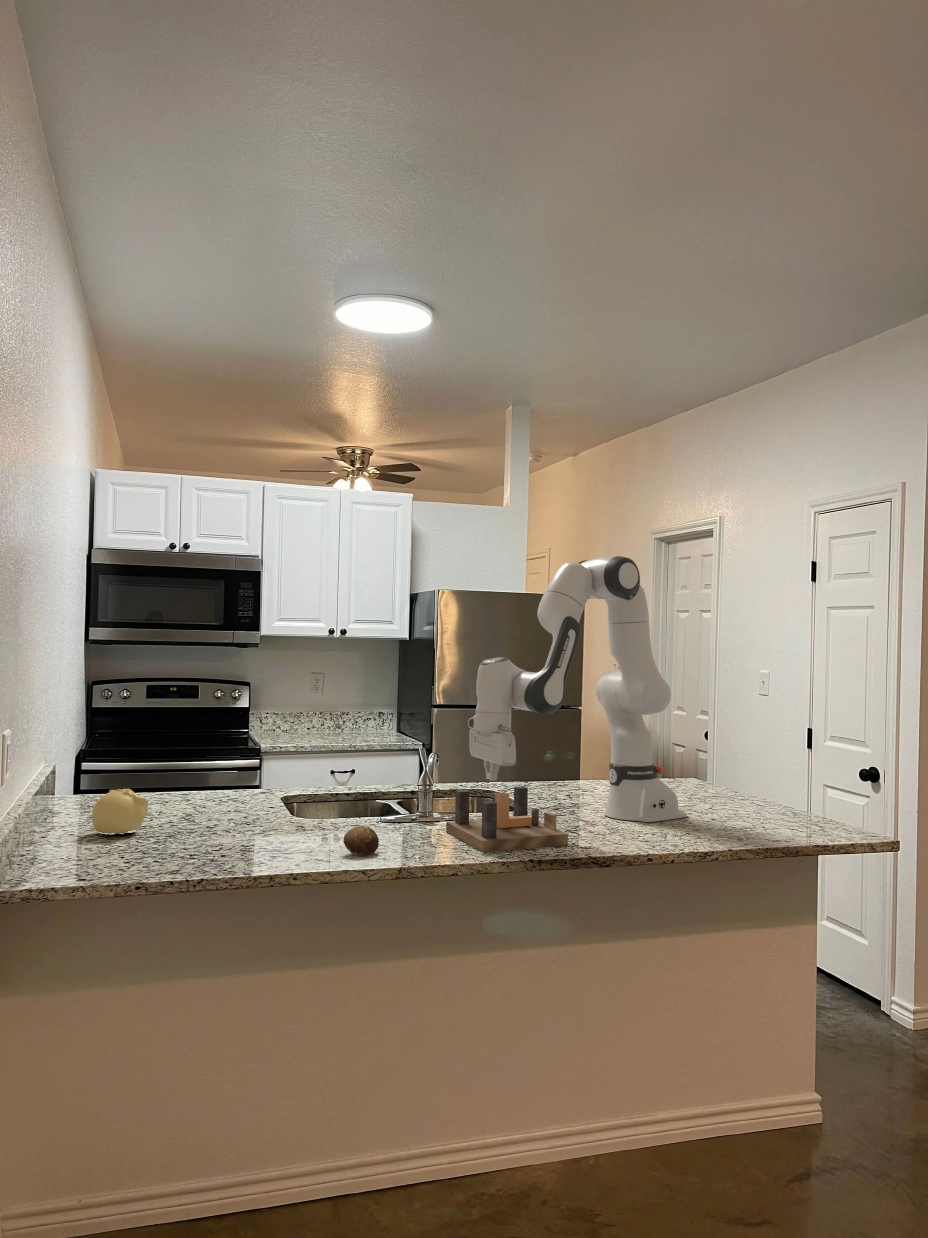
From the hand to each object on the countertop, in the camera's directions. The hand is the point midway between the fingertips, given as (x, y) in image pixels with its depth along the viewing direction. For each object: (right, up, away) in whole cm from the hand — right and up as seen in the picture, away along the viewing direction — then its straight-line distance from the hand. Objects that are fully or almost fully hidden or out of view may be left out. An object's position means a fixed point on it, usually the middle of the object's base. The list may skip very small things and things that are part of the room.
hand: (491, 779), depth 229 cm
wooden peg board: (+3, -13, -5) cm, 14 cm away
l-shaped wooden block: (+5, -10, -4) cm, 12 cm away
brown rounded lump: (-30, -13, -22) cm, 39 cm away
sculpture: (-90, -12, -6) cm, 91 cm away
